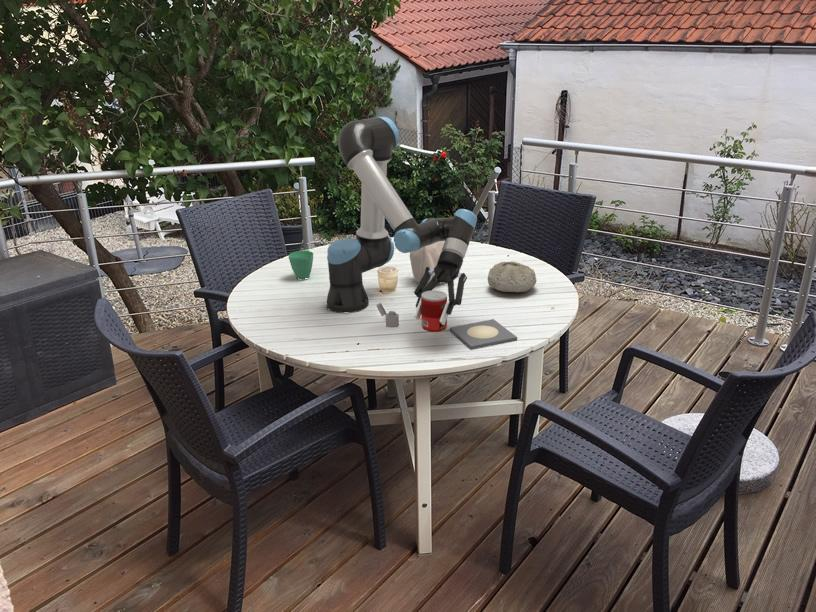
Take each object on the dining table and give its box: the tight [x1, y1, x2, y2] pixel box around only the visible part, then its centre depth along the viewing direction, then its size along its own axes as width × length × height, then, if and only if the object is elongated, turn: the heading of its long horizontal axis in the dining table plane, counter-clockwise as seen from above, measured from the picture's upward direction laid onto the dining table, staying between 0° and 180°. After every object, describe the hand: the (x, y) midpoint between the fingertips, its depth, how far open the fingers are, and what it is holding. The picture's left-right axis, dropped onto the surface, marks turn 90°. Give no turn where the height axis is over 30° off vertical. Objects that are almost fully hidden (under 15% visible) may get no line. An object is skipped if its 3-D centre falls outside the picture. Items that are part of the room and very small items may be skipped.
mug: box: [288, 248, 314, 279], centre depth 277 cm, size 15×10×10 cm
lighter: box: [375, 302, 400, 328], centre depth 227 cm, size 7×2×8 cm, turn 77°
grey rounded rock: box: [487, 260, 537, 293], centre depth 254 cm, size 18×18×10 cm
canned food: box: [420, 289, 448, 333], centre depth 211 cm, size 8×8×11 cm
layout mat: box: [449, 318, 518, 350], centre depth 218 cm, size 16×16×1 cm
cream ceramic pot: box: [409, 241, 445, 285], centre depth 263 cm, size 16×27×19 cm, turn 169°
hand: (429, 320), depth 209 cm, fingers closed on canned food, 8 cm apart
